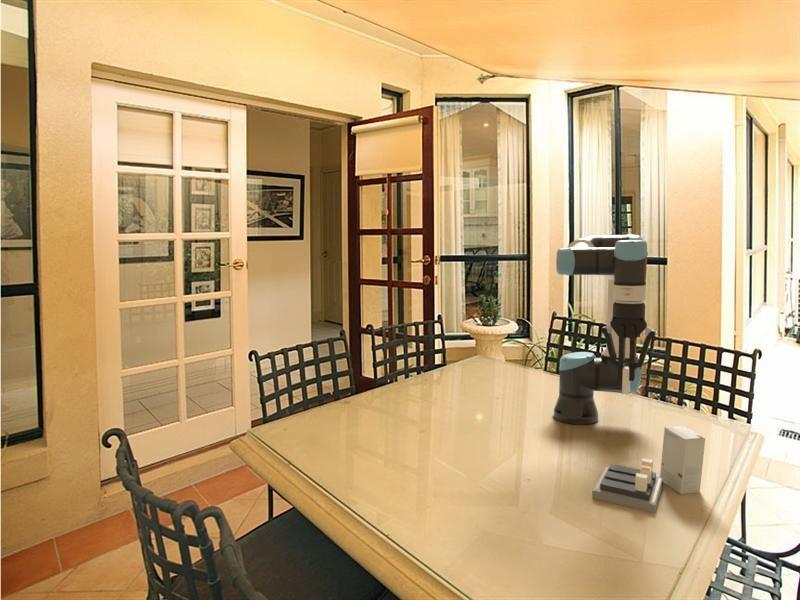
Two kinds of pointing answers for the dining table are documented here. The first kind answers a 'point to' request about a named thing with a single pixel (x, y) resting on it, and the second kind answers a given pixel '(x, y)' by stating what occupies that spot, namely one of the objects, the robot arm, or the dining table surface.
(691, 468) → the skincare box
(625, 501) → the panel
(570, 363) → the robot arm
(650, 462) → the block
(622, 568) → the dining table surface
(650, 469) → the breaker mid
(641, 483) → the block
